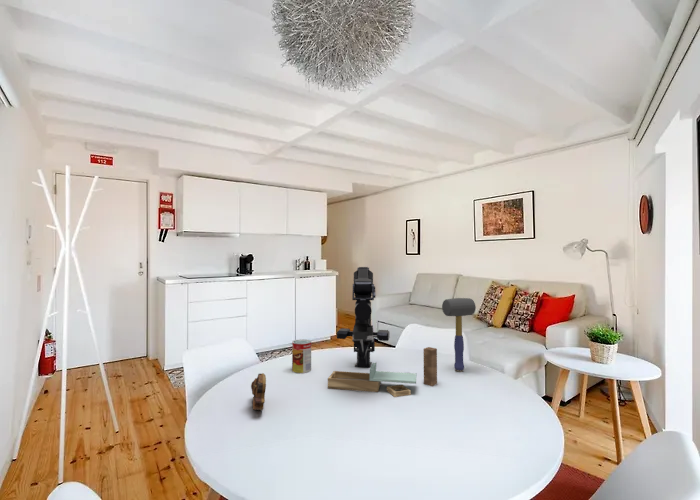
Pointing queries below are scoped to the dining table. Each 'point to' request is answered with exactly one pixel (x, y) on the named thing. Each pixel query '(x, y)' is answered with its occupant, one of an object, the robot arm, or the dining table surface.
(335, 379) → the wooden tray
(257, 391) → the wooden carving
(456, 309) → the rubber mallet
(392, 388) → the frame
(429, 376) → the brown block
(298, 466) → the dining table surface
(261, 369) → the dining table surface
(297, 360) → the canned food
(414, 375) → the lid
